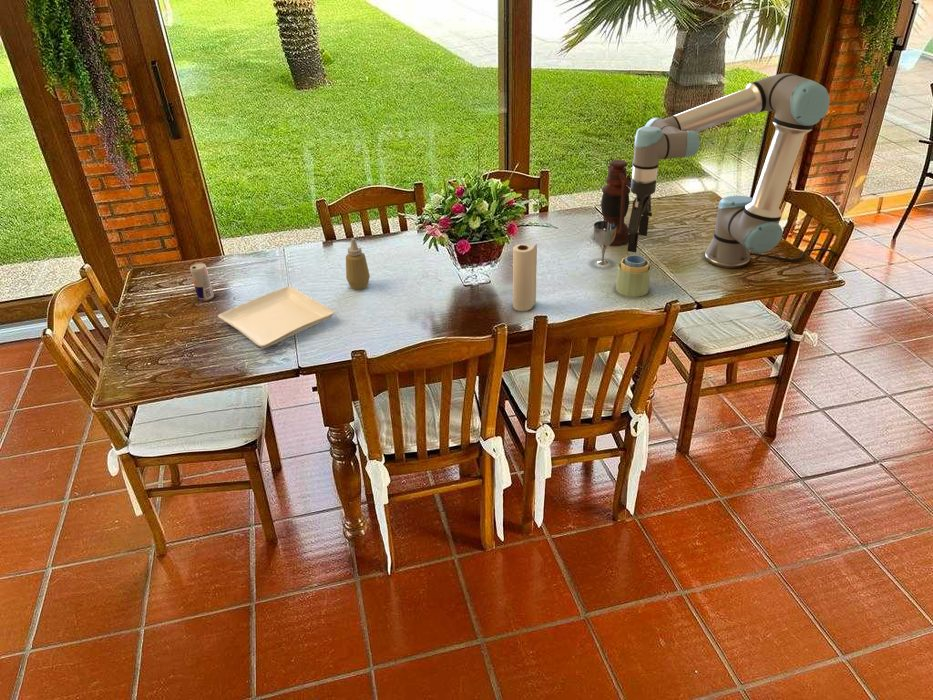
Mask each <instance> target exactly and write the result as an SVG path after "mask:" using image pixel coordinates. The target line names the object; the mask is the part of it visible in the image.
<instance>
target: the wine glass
mask: <svg viewBox="0 0 933 700" xmlns="http://www.w3.org/2000/svg"><path fill="white" fill-rule="evenodd" d="M616 231H617V224H616V223H614V222H611V221H604V220H598V221H596V222H594V224H593V239H594V238H595V239H594V241H595V242H596V245H598V246H599V247H600V249H601V259H600V260H598V261H597V262H596V263H597V265H600V266H606V265H608V264H609V262H608V261H607V260H605V255H606V254H605V253H606V250H607V248H609V245H610V244H611V243H612V242H613V241H614V239H615V236H616Z"/></svg>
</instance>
